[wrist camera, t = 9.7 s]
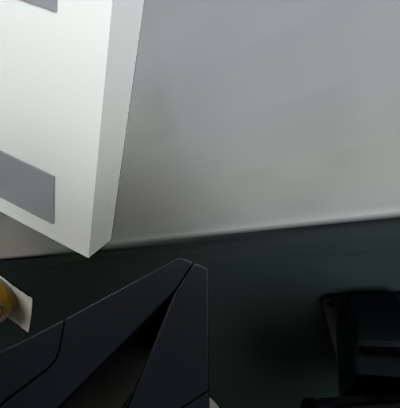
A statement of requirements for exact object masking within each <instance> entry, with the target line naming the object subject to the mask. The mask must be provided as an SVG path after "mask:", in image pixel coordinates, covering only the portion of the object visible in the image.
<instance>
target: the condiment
mask: <svg viewBox="0 0 400 408" xmlns="http://www.w3.org/2000/svg"><path fill="white" fill-rule="evenodd" d="M17 296H18V297H19V298H18V297H17ZM19 299H20V300H21V301H20V300H19ZM31 309H32V298H31V297H29V296H27V295H26V294H25V293H24V292H22V291H20V290H19V289H17V288H16V287H14V286H12V284H10V283H9V282H8V281H7V280H5V279H4V278H3V277H1V276H0V323H2V322H3V321H4V320H5V319H7V318H9V319H11V320H13V321H14V322H15V323H17V324H18V325H20V327H21V328H22V329H24V330H26V331H27V332H28V331H29V327H30V321H31V313H32V311H31Z"/></svg>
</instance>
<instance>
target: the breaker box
mask: <svg viewBox="0 0 400 408" xmlns="http://www.w3.org/2000/svg"><path fill="white" fill-rule="evenodd" d="M143 6H144V0H0V212H2V213H4V214H6V215H8V216H10V217H12V218H13V219H15V220H17V221H19V222H21V223H23V224H25V225H27V226H29V227H30V228H32V229H34V230H36V231H38V232H40V233H42V234H44V235H46V236H47V237H49V238H51V239H53V240H55V241H57V242H59V243H61V244H63V245H64V246H66V247H68V248H70V249H72V250H74V251H76V252H78V253H80V254H81V255H83V256H85V257H87V258H89V257H90V256H92V255H93V254H94V253H95V252H96V251H98V250H99V249H100V248H101V247H103V246H104V245H105V244H106V243H108V242H109V241H110V240H111V235H112V227H113V220H114V213H115V206H116V199H117V192H118V185H119V177H120V170H121V163H122V156H123V149H124V142H125V134H126V127H127V120H128V113H129V106H130V99H131V92H132V84H133V77H134V70H135V63H136V56H137V49H138V41H139V34H140V27H141V20H142V13H143Z"/></svg>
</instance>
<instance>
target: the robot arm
mask: <svg viewBox="0 0 400 408" xmlns="http://www.w3.org/2000/svg"><path fill="white" fill-rule="evenodd" d="M328 301H332V302H333V303H328ZM323 307H324V311H325V315H326V319H327V323H328V327H329V330H330V334H331V338H332V342H333V346H334V350H335V354H336V358H337V366H338V388H339V397H331V398H320V399H314V398H312V397H311V398H304V399H303V401H302V403H301V406H300V408H400V293H366V294H330V295H325V296H324V297H323ZM138 379H139V380H138ZM137 381H138V382H137ZM136 383H137V385H136V387H135V390H134V392H133V394H132V397H131V399H130V402H129V404H128V407H127V408H210V395H209V393H208V392H209V314H208V269H207V268H205V267H203V266H200V265H198V264H194V265H193V263H192V262H191V261H188V260H186V259H183V258H177V259H176V260H174V261H172V262H170V263H168V264H166V265H164V266H163V267H161V268H159V269H157V270H155V271H153V272H151V273H150V274H148V275H146V276H144V277H142V278H140V279H138V280H137V281H135V282H133V283H131V284H129V285H127V286H126V287H124V288H122V289H120V290H118V291H116V292H114V293H113V294H111V295H109V296H107V297H105V298H103V299H101V300H100V301H98V302H96V303H94V304H92V305H90V306H89V307H87V308H85V309H83V310H81V311H79V312H77V313H76V314H74V315H72V316H70V317H68V318H66V319H65V322H64V321H60V322H59V323H57V324H55V325H53V326H51V327H49V328H48V329H46V330H44V331H42V332H40V333H38V334H36V335H34V336H32V337H30V338H28V339H26V340H24V341H22V342H20V343H18V344H16V345H14V346H12V347H9V348H7V349H5V350H3V351H1V352H0V408H121V407H122V405H123V404H124V402H125V400H126V399H127V397H128V395H129V394H130V392H131V391H132V389H133V387H134V386H135V384H136Z"/></svg>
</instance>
